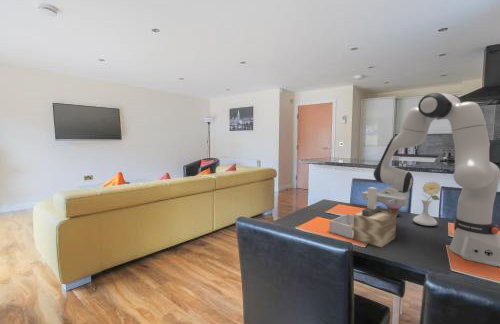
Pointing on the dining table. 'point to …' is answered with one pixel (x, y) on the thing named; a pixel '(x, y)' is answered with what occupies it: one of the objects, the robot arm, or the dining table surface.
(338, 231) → the box
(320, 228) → the dining table surface
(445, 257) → the dining table surface
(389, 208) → the cupcake
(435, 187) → the flower in vase
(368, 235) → the wooden grain block
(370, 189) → the scraper
